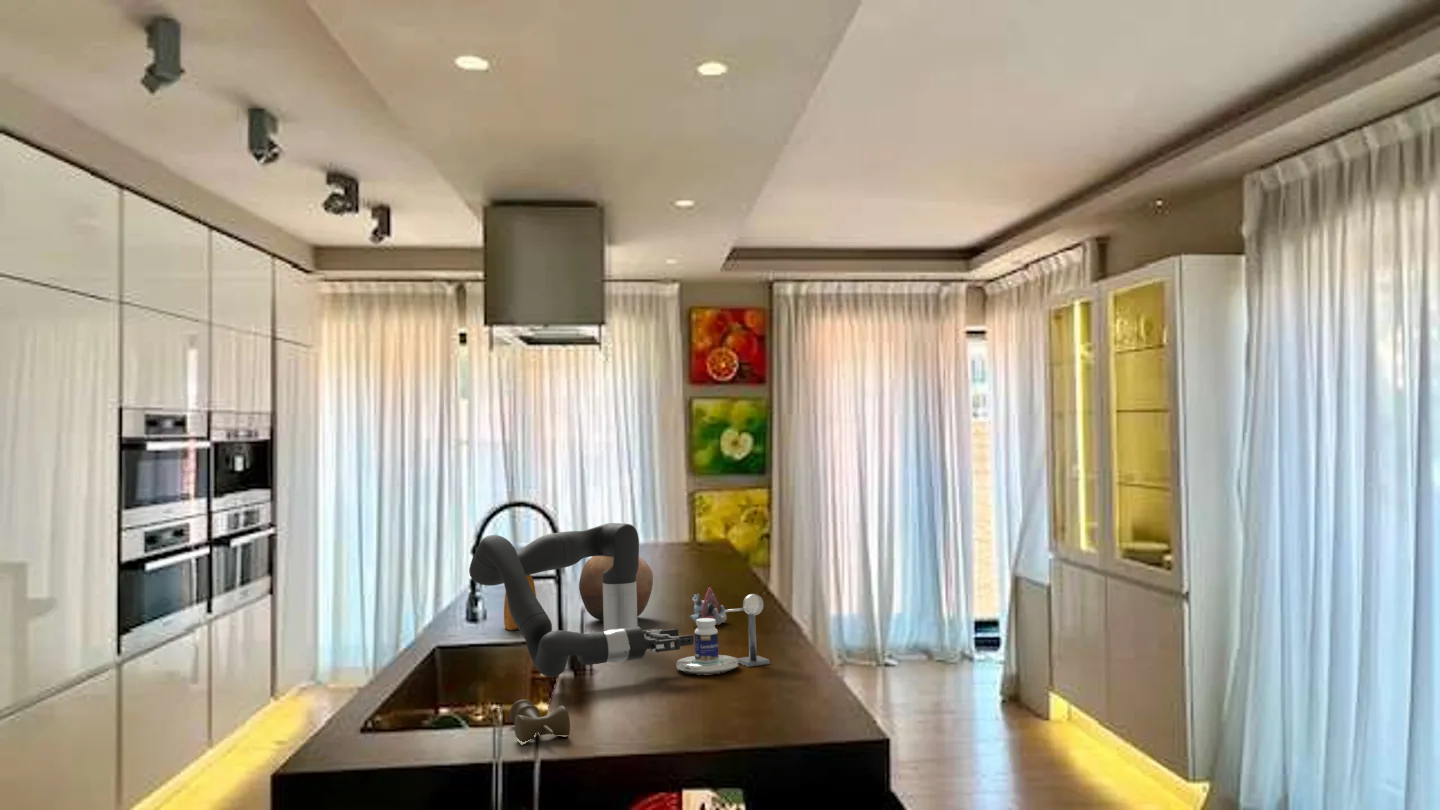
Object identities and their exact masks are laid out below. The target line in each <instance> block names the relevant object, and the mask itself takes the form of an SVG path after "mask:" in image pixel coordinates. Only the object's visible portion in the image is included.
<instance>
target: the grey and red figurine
mask: <svg viewBox="0 0 1440 810" xmlns="http://www.w3.org/2000/svg"><path fill="white" fill-rule="evenodd" d="M691 600H692V602H693V603H694V606H693V613H694V614H690V615H689V618H690V619H692V620H693V621H694V622H695V623H696V620H697V619H700V618H712V619H715V620H716V624H721V623H723V622H724V623H725V622H726V621H727V619H728V617H727V612H725V610H726V609H725V606H724V605H723V604H721V605H720V606H719V602H718V599H717V597H716V595H715V593H714V591H713V589H712V587H708V589H707V592H706V594H705V596H704V600H703V599H701V595H700V593H697V594H693V597H692V599H691Z"/></svg>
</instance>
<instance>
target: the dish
mask: <svg viewBox="0 0 1440 810" xmlns="http://www.w3.org/2000/svg"><path fill="white" fill-rule="evenodd" d="M675 664H676V665H675V666H676V669H677V670H678V671H682V672H683V673H684V672H685V674H686V673H688V674H687V675H690V674H700V675H704V674H718V673H724V672H728V671H730V672H732V671H733V670H734V669H736V668H738V667H739V663H738V659H737V657H735V656H730V655H726V654H725V655H724V654H718V661H716V662H713V663H699V662H696V661H695V655H692V656H686V657H683V658H679V659H678V660H676V663H675ZM731 670H732V671H731ZM728 673H729V672H728Z"/></svg>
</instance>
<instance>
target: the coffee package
mask: <svg viewBox="0 0 1440 810" xmlns="http://www.w3.org/2000/svg"><path fill="white" fill-rule="evenodd" d="M526 577H527V579H528V582H529V584H530V587H531V589H532V591H533V593H534V595H535V597H536V598H537V592H536V587H535V581H534V579H533V577H532V574H531V575H527V576H526ZM503 604H504V605H503V625H504V627H505V629H506V630H508V631H514V630H515V631H516V630H517V631H518V630H519V629H518V627H517V625H516V624H515V622H514V620H513V618H512V616H511V613H510V610H509V606H508V601H507V595H506V592H505V593H504V602H503Z"/></svg>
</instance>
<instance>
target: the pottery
mask: <svg viewBox="0 0 1440 810" xmlns="http://www.w3.org/2000/svg"><path fill="white" fill-rule="evenodd" d="M613 561H614V557H610V556H591V557H590V558H588V559H587V561H586V562H585V563H584V565H583V568H582V569H581V573H580V576H579V581H578V589H579V595H580V599H581V600H582V603H583V606H584V608H585V610H586V611H587V613H588V615H590V616H591V617H592V618H594V619H596V620H597V621H601V622H604V615H603V581H602V575H603V572H605V571H607V570H609V569H610V568H611V567H612V566H613ZM653 585H654V574H653V570H652V569H651V567H650V566H649V564H648V563H647V562H646V561H645V559H644V558H642V557H640V556H639V566H638V572H637V575H636V592H637V618H638V617H640V616H641V615H642V613H643V612H644V611H645V609H646V607H647V606H648V603H649V600H650V597H651V594H652V590H653Z"/></svg>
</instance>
